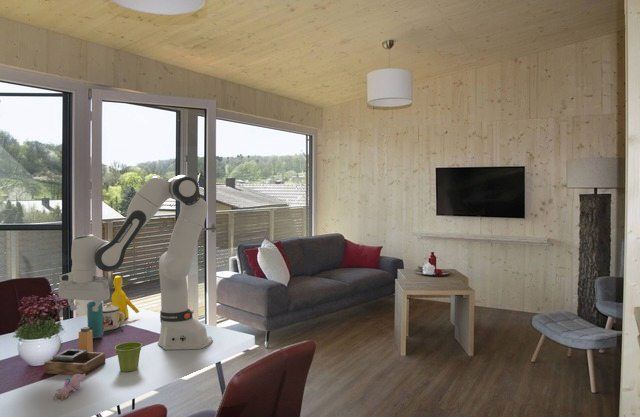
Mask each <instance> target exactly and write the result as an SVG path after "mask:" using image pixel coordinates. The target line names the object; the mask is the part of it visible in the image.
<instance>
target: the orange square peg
mask: <svg viewBox="0 0 640 417" xmlns="http://www.w3.org/2000/svg"><path fill="white" fill-rule="evenodd" d="M93 338H94V337H92V330H90V327H88V326H84V327H81V328H80V331H78V349H79V350H87V352H94V347H93V346H94V344H93V343H94V342H93V341H94V339H93Z"/></svg>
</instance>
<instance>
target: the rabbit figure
mask: <svg viewBox="0 0 640 417" xmlns="http://www.w3.org/2000/svg"><path fill="white" fill-rule="evenodd" d="M85 375H86V374H82V375H81V374H75V375H71V378H70V377H68V376H67V377H66V378H65V381H64V383H63V387H62V388H58V389H55V390H56V392H57V393H55V394H54V396H53V399H52V401H53V402H55V401H56V400H57V399H58V400H59V399H60V401H62V402H63V401H64V400H66V399H68V397H69V393H70V392H76V391H77V390H78V389H79V388H80V387H81V382H82V381H83V380H84V379H85V377H86V376H87V375H86V376H85Z"/></svg>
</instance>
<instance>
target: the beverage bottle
mask: <svg viewBox="0 0 640 417" xmlns="http://www.w3.org/2000/svg"><path fill="white" fill-rule="evenodd" d="M95 305H96V303H95V301H93V300H89V302H87V304H86V308H87V310H86V312H87V314H86V317H87V324H86V325H87V327H90V330H92V337H93V338H99V337H102V336H103V335H104V330H103V329H104V327H103V325H104V324H103V307H104V306H103V301H101V303H100V305H99V307H98V311H97V312H93V311H92V310H93V309H92V307H95Z"/></svg>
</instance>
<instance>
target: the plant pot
mask: <svg viewBox="0 0 640 417" xmlns="http://www.w3.org/2000/svg"><path fill="white" fill-rule="evenodd" d="M142 347H143V343H141V342H138V341H127V342H122V343H119V344H117V345H115V346H114V349H115V351H116V354H117V359H118V364H119V365H118V366H119V369H120V371H121V372H123V373H128V372H131V371H137V369H138V368H139V361H140V355H141V350H142Z"/></svg>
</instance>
